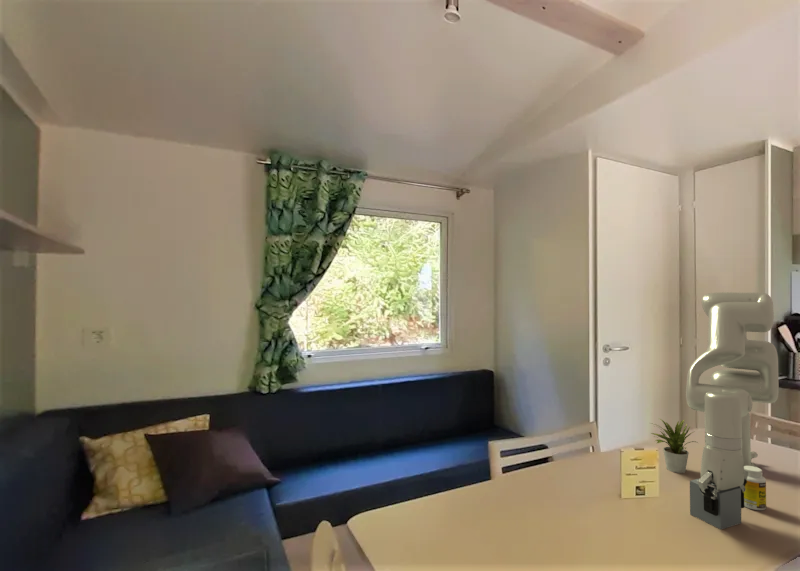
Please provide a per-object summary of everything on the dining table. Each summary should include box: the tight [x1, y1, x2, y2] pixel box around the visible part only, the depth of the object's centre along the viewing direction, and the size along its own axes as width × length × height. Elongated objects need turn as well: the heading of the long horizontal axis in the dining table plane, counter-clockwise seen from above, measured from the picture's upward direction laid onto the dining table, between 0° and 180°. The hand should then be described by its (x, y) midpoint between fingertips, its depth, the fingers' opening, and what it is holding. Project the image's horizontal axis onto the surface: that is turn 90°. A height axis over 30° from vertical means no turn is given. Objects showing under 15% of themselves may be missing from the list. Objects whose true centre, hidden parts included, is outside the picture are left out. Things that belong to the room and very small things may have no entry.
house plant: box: [650, 418, 699, 474], centre depth 144 cm, size 14×14×16 cm
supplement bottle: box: [744, 466, 767, 511], centre depth 119 cm, size 6×6×10 cm
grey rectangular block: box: [689, 477, 742, 530], centre depth 113 cm, size 8×8×9 cm
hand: (724, 509), depth 111 cm, fingers open, 9 cm apart
